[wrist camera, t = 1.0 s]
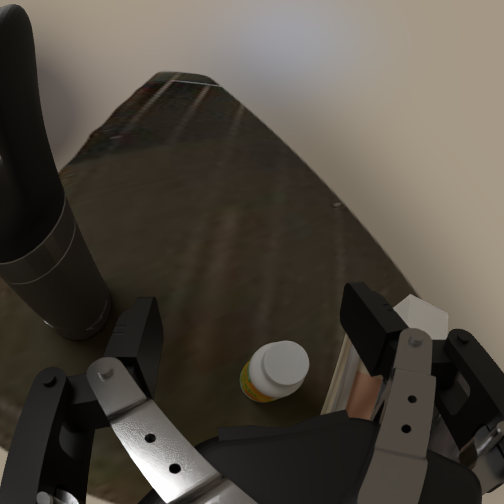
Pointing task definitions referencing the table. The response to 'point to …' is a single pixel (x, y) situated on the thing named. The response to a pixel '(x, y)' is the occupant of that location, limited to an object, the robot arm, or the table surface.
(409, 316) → the white padded block
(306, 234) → the table surface
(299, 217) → the table surface
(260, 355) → the supplement bottle
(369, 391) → the birch tray
